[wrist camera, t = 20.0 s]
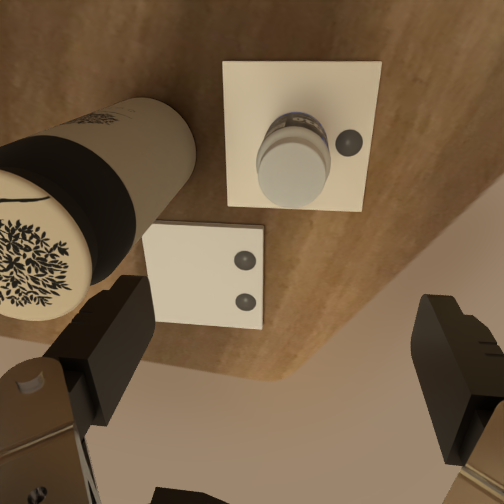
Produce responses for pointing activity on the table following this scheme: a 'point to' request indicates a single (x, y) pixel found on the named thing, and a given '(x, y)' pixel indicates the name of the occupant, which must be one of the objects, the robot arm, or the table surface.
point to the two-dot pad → (206, 273)
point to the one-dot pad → (309, 101)
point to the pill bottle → (293, 160)
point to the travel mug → (84, 201)
